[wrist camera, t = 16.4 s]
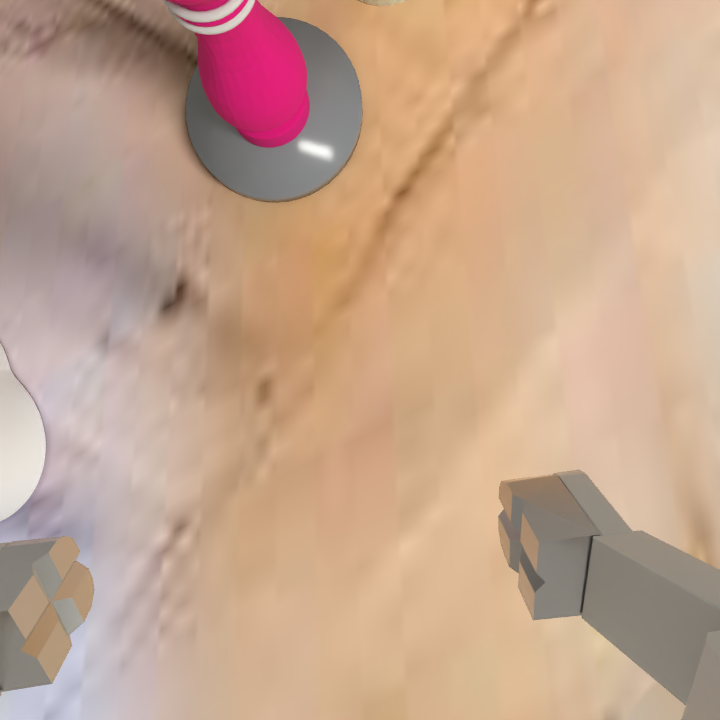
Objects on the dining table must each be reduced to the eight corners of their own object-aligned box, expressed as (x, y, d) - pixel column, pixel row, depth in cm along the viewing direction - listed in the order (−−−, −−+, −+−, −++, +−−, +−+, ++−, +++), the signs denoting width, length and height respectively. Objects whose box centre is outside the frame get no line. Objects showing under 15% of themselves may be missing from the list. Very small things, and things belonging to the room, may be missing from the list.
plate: (173, 179, 39) (166, 174, 37) (215, 10, 38) (209, -1, 37) (337, 220, 38) (335, 216, 36) (382, 48, 37) (382, 38, 36)
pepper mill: (214, 79, 37) (7, -241, 17) (300, 48, 36) (192, -319, 16) (241, 167, 37) (66, -51, 17) (328, 137, 36) (253, -122, 16)
